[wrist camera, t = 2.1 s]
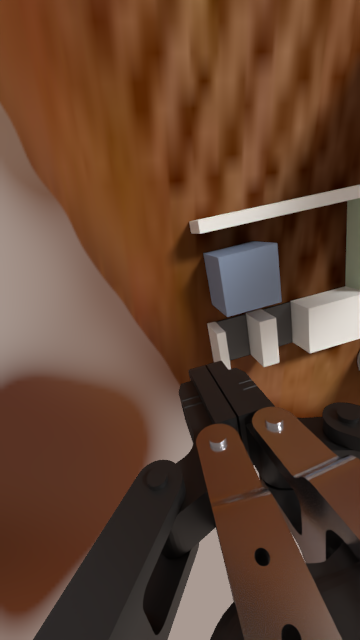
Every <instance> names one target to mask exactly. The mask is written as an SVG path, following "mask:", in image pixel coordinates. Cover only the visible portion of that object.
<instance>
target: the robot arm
mask: <svg viewBox="0 0 360 640" xmlns="http://www.w3.org/2000/svg"><path fill="white" fill-rule="evenodd" d="M189 375H190V380H191V381H190V382H186V383H183V384H181V386H180V389H179V396H180V399H181V403H182V408H183V412H184V416H185V420H186V423H187V426H188V429H189V432H190V435H191V438H192V441H193V447H192V449H191V451H190V452H189V454H187V455H186V456H185V458H183V459H182V460H180V461H179V462H177V463H176V464H175V463H174V462H172V461H168V460H158V461H155V462H153V463H151V464H149V465H147V466H146V467H145V468H143V469H142V471H141V472H140V473H139V474H138V476H137V477H136V479H135V481H134V482H133V484H132V485H131V487H130V489H129V490H128V492H127V493H126V495H125V496H124V498H123V499H122V501H121V503H120V504H119V506H118V507H117V509H116V510H115V512H114V514H113V515H112V517H111V518H110V520H109V521H108V523H107V524H106V526H105V528H104V529H103V531H102V532H101V534H100V536H99V537H98V539H97V540H96V542H95V543H94V545H93V546H92V548H91V550H90V551H89V553H88V554H87V556H86V557H85V559H84V561H83V562H82V564H81V565H80V567H79V568H78V570H77V572H76V573H75V575H74V576H73V578H72V579H71V581H70V583H69V584H68V586H67V587H66V589H65V590H64V592H63V594H62V595H61V597H60V598H59V600H58V601H57V603H56V605H55V606H54V608H53V609H52V611H51V612H50V614H49V615H48V617H47V619H46V620H45V622H44V623H43V625H42V626H41V628H40V630H39V631H38V633H37V634H36V636H35V638H34V639H33V640H167V639H168V636H169V633H170V630H171V627H172V624H173V621H174V618H175V615H176V613H177V610H178V607H179V604H180V601H181V598H182V595H183V592H184V589H185V586H186V583H187V580H188V577H189V574H190V571H191V568H192V565H193V563H194V560H195V557H196V554H197V551H198V547H199V542H200V541H201V540H202V539H203V538H204V537H205V536H206V535H207V534H209V533H210V532H211V531H212V530H213V529H214V528H215V527H216V530H217V534H218V538H219V542H220V546H221V550H222V554H223V559H224V563H225V567H226V571H227V575H228V580H229V584H230V588H231V592H232V596H233V600H234V602H233V603H232V604H231V606H230V607H229V608H228V609H227V611H226V612H225V613H224V614H223V616H222V618H221V619H220V621H219V622H218V624H217V626H216V628H215V630H214V633H213V634H212V637H211V639H210V640H360V406H359V405H355V404H350V403H333V404H330V405H328V406H326V407H325V408H324V410H323V417H314V418H296V417H295V416H294V415H293V414H292V413H290V412H289V411H287V410H285V409H283V408H279V407H275V406H274V405H273V404H272V403H271V401H270V400H269V399H268V398H267V397H266V396H265V395H264V393H263V392H262V391H261V390H260V389H259V388H258V386H256V384H255V383H254V382H253V381H252V380H251V378H250V377H249V376H248V375H247V374H246V373H245V372H244V371H241V370H239V369H237V368H233V369H230V370H228V368H227V367H226V366H225V364H224V363H223V362H222V361H217V362H214V363H210V364H207V365H204V366H200V367H197V368H193V369H190V370H189ZM253 465H255V467H256V469H257V471H258V472H259V477H258V476H257V473H256V471H255V469H254V467H253ZM259 478H260V480H259ZM292 535H293V536H292ZM293 537H294V538H295V540H296V542H297V543H298V545H299V547H300V550H301V552H302V555H303V557H302V555H301V553H300V551H299V549H298V547H297V545H296V543H295V541H294V539H293ZM303 558H304V559H303ZM304 560H305V561H304Z"/></svg>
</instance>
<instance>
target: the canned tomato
mask: <svg viewBox="0 0 360 640" xmlns="http://www.w3.org/2000/svg"><path fill="white" fill-rule="evenodd" d="M357 364H358V368H359V370H360V351H359V354H358V359H357Z"/></svg>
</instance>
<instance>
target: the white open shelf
mask: <svg viewBox="0 0 360 640" xmlns="http://www.w3.org/2000/svg"><path fill="white" fill-rule="evenodd" d="M344 201H347V235H346V276H345V286H344V287H341V288H337V289H333V290H330V291H326V292H322V293H318V294H315V295H311V296H307V297H304V298H300V299H296V300H293V301H290V302H288V303H284V304H281V305H277V306H273V307H269V308H266V309H259V310H256V311H252V312H248V313H246V314H244V315H240V316H236V317H232V318H229V319H225V320H221V321H218V322H211V323H207V326H208V332H209V337H210V343H211V349H212V354H213V360H214V362H217V361H222V362H223V363H224V364H225V366H226V367H227V368H228V370H230V369H231V365H230V360H233V359H237V358H240V357H244V356H247V355H252V356H253V357H254V358H255V359H256V360H257V361H258V362H259V363H260V364H261V365H262V366H263V367H266V366H270V365H273V364H276V363H279V350H278V346H281V345H285V344H288V343H292V342H293V343H295V344H296V345H298V346H299V347H301V348H302V349H304V350H305V351H307V352H308V353H313V352H316V351H320V350H323V349H326V348H330V347H333V346H336V345H340V344H343V343H346V342H350V341H353V340H356V339H360V185H355V186H350V187H346V188H341V189H336V190H332V191H327V192H323V193H318V194H314V195H309V196H304V197H300V198H295V199H291V200H286V201H281V202H277V203H272V204H268V205H263V206H258V207H254V208H249V209H245V210H240V211H236V212H231V213H226V214H222V215H217V216H213V217H208V218H203V219H199V220H194V221H190V222H189V224H190V230H191V233H192V234H202V233H206V232H210V231H215V230H219V229H224V228H228V227H233V226H237V225H242V224H246V223H250V222H255V221H259V220H264V219H268V218H273V217H277V216H282V215H286V214H290V213H295V212H299V211H304V210H308V209H313V208H317V207H321V206H326V205H330V204H335V203H339V202H344ZM246 320H247V321H246ZM247 328H248V329H247ZM248 336H249V338H248ZM249 345H250V346H249ZM250 353H251V354H250Z"/></svg>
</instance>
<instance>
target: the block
mask: <svg viewBox="0 0 360 640" xmlns="http://www.w3.org/2000/svg"><path fill="white" fill-rule="evenodd" d="M203 255H204V260H205V266H206V272H207V278H208V283H209V289H210V295H211V301H212V305H213V306H215V307H216V308H217V309H218V310H219V311H221V312H222V313H223V314H224V315H225V316H227V317H229V316H233V315H237V314H240V313H244V312H247V311H251V310H255V309H258V308H262V307H265V306H269V305H273V304H276V303H280V302H282V299H281V286H280V272H279V258H278V245H277V243H271V242H259V241H252V242H248V243H244V244H240V245H236V246H232V247H228V248H224V249H219V250H215V251H211V252H207V253H203Z"/></svg>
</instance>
